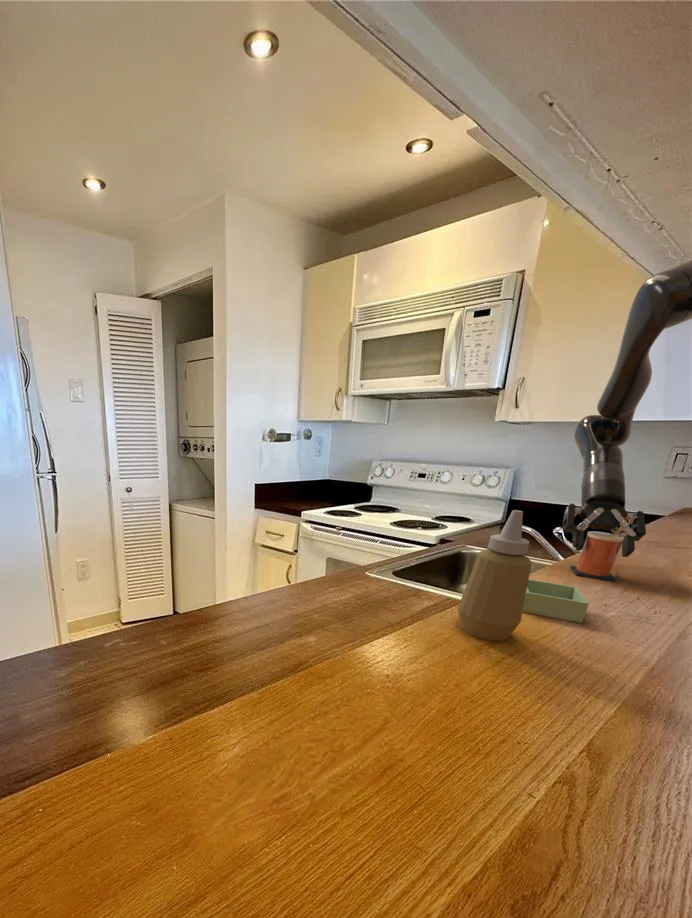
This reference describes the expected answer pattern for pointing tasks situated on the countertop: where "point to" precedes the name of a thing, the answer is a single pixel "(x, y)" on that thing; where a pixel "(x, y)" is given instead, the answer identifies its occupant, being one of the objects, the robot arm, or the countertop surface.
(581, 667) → the countertop surface
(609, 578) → the drying mat
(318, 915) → the countertop surface
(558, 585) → the green shallow open box
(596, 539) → the tumbler
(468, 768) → the countertop surface
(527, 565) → the squeeze bottle
